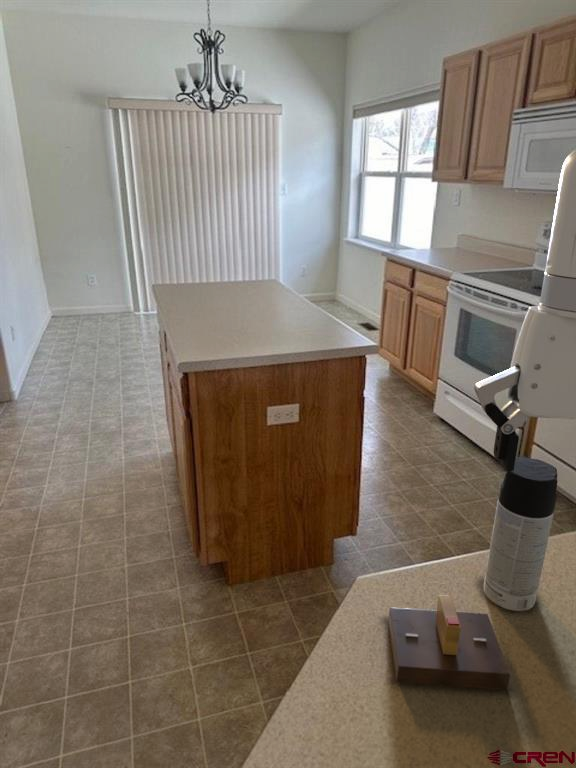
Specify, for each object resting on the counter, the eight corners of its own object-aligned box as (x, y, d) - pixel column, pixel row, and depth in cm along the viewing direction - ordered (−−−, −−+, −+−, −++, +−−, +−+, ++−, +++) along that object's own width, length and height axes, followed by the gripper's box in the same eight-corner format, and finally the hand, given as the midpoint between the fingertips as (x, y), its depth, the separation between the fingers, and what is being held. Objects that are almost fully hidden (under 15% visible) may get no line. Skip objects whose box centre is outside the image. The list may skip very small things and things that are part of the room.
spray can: (535, 590, 74) (560, 461, 68) (534, 623, 69) (562, 486, 62) (485, 576, 77) (505, 451, 70) (480, 607, 71) (501, 473, 65)
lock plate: (484, 632, 67) (487, 612, 66) (506, 695, 58) (510, 673, 57) (387, 626, 68) (389, 606, 67) (396, 687, 59) (398, 665, 58)
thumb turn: (434, 621, 65) (438, 592, 63) (447, 622, 64) (451, 593, 63) (443, 654, 60) (447, 624, 58) (456, 655, 60) (461, 625, 58)
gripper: (663, 291, 50) (624, 454, 56) (477, 287, 52) (457, 447, 57) (718, 306, 43) (667, 491, 49) (500, 301, 45) (475, 482, 50)
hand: (554, 467), depth 53 cm, fingers open, 9 cm apart
